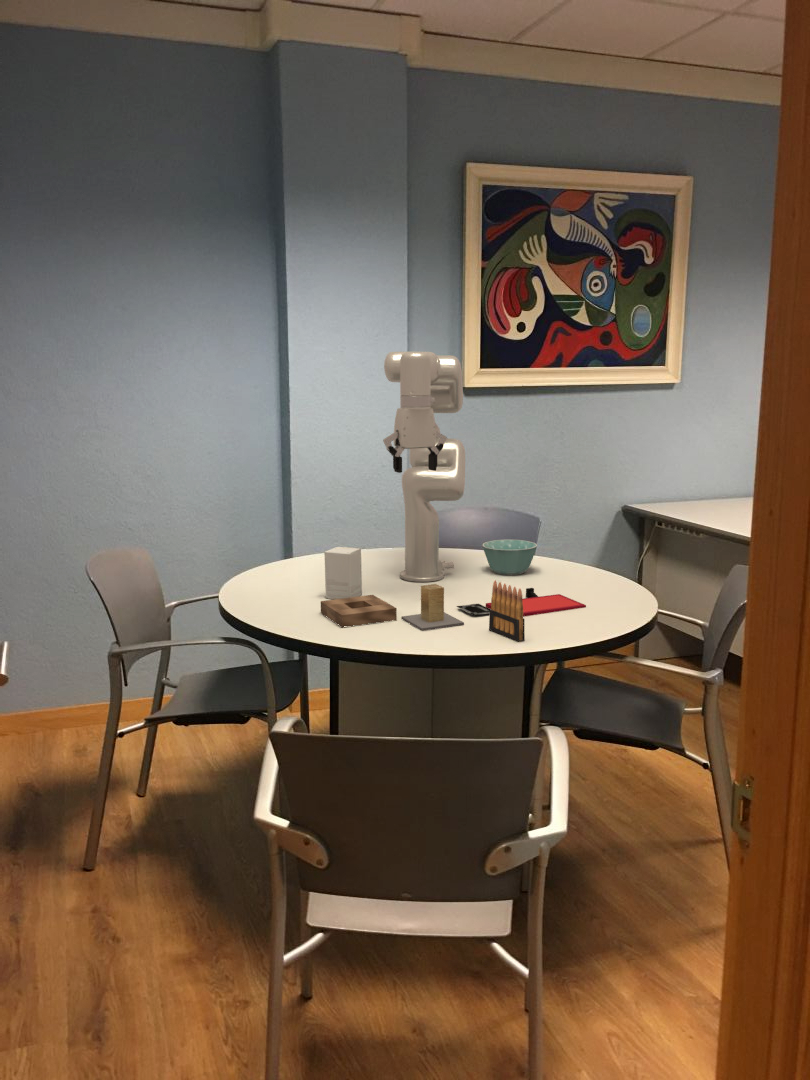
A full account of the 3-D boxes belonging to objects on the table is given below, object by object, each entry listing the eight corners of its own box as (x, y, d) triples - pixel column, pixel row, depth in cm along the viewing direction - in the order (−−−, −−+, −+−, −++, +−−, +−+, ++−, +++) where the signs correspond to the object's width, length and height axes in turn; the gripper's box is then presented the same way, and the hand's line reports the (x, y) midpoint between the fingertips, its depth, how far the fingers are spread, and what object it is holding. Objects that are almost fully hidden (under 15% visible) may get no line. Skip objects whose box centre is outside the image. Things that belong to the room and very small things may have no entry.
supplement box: (362, 595, 244) (362, 548, 242) (349, 601, 238) (348, 553, 235) (338, 592, 247) (337, 545, 245) (324, 598, 241) (323, 551, 238)
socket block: (372, 606, 233) (372, 594, 233) (396, 620, 221) (396, 608, 220) (320, 612, 227) (320, 601, 227) (342, 627, 215) (341, 615, 214)
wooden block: (435, 616, 222) (435, 583, 220) (443, 620, 218) (443, 587, 217) (420, 618, 220) (420, 585, 219) (428, 622, 217) (428, 589, 215)
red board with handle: (452, 607, 232) (483, 624, 219) (452, 597, 231) (483, 612, 218) (550, 595, 245) (585, 610, 232) (551, 585, 244) (586, 599, 231)
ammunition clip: (488, 630, 213) (489, 579, 210) (495, 629, 214) (495, 578, 211) (518, 642, 204) (519, 589, 201) (524, 641, 205) (526, 588, 202)
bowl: (471, 572, 269) (471, 544, 267) (502, 563, 281) (502, 536, 279) (516, 580, 259) (516, 552, 257) (546, 571, 271) (547, 543, 269)
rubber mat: (441, 613, 227) (441, 611, 226) (463, 624, 217) (463, 622, 217) (401, 618, 222) (401, 616, 222) (422, 630, 212) (422, 628, 212)
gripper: (439, 401, 238) (438, 467, 241) (377, 403, 230) (378, 471, 234) (453, 402, 231) (452, 470, 234) (390, 404, 224) (390, 474, 227)
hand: (415, 471), depth 234 cm, fingers open, 9 cm apart
